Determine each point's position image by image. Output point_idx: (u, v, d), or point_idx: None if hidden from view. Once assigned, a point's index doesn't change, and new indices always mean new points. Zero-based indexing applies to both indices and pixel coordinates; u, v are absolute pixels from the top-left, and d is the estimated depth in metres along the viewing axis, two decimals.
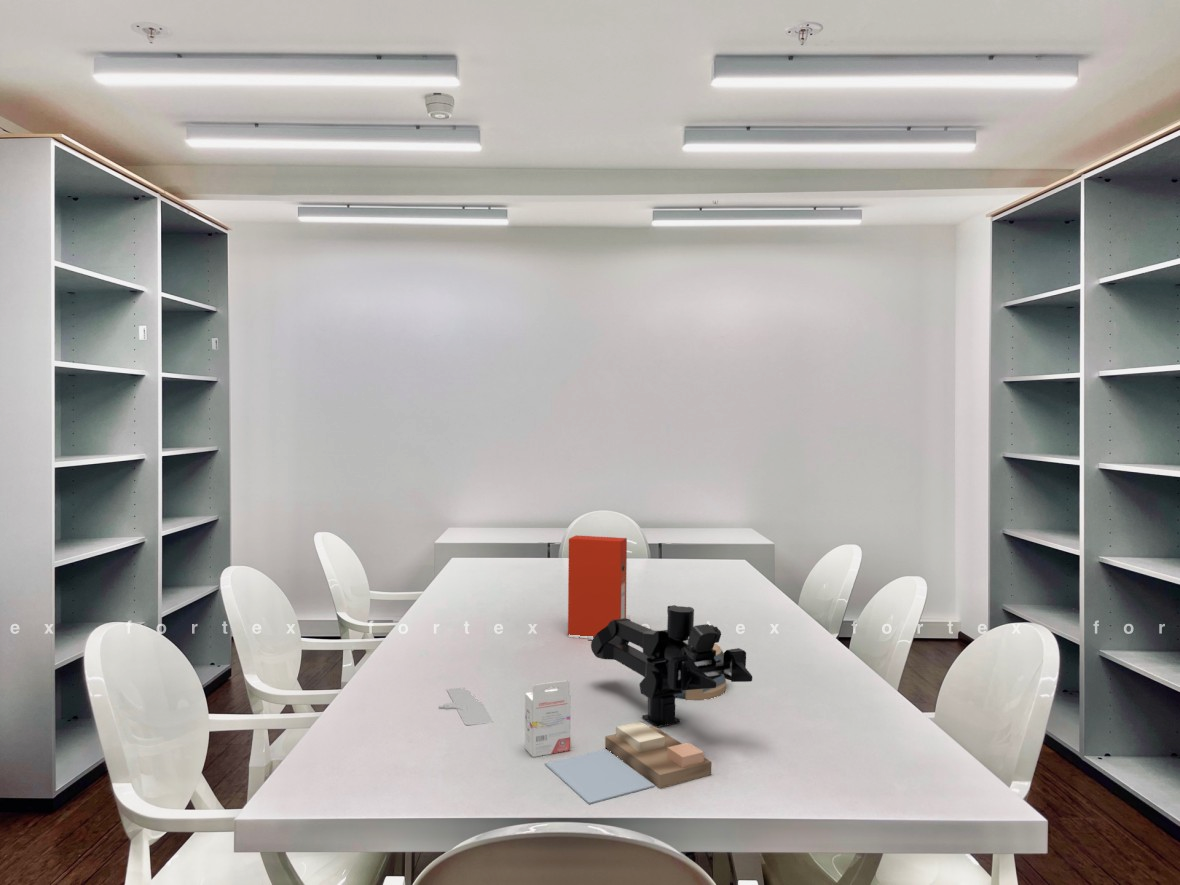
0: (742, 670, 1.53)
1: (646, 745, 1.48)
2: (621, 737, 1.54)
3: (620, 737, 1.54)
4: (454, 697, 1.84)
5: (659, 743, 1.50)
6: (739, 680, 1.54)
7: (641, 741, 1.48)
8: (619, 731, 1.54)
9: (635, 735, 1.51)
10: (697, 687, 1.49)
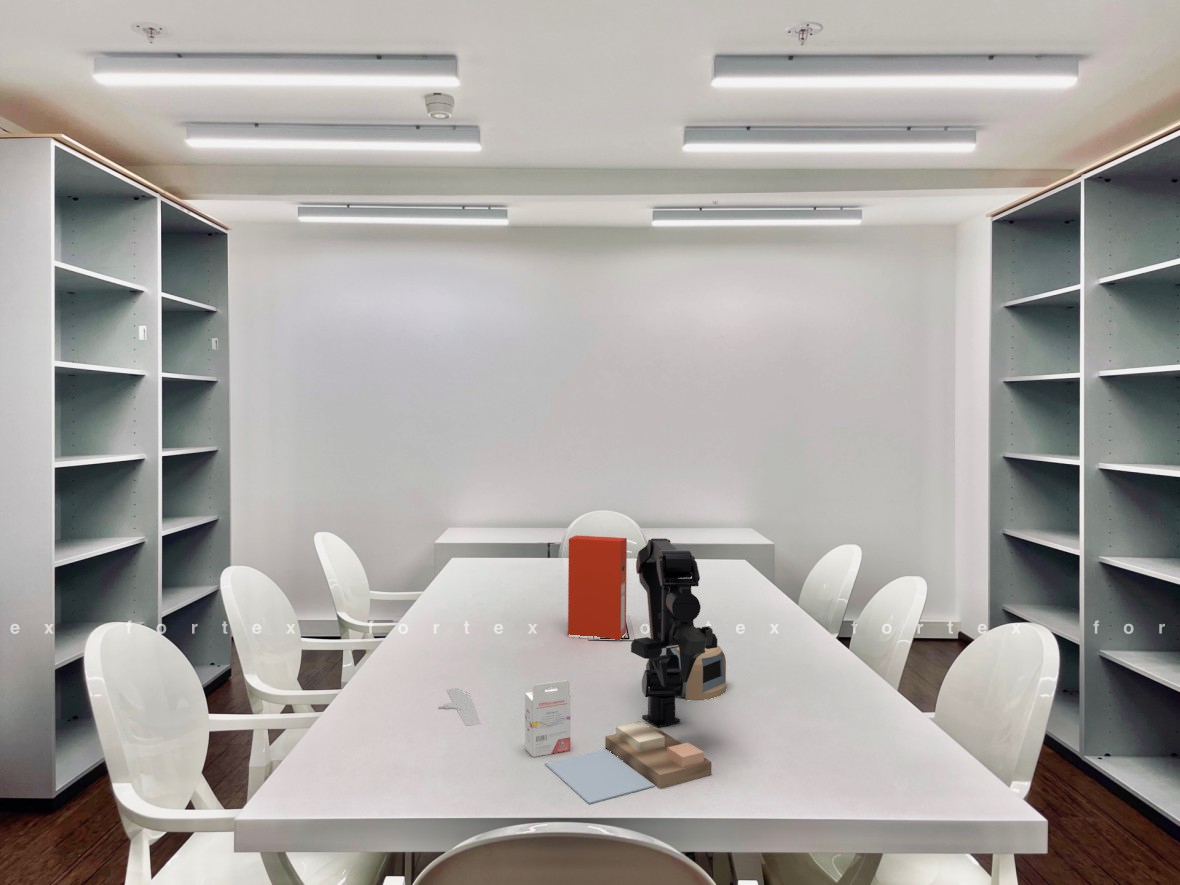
0: (687, 668, 1.58)
1: (646, 745, 1.48)
2: (621, 737, 1.54)
3: (620, 737, 1.54)
4: (454, 697, 1.84)
5: (659, 743, 1.50)
6: (680, 662, 1.60)
7: (641, 741, 1.48)
8: (619, 731, 1.54)
9: (635, 735, 1.51)
10: (654, 666, 1.56)
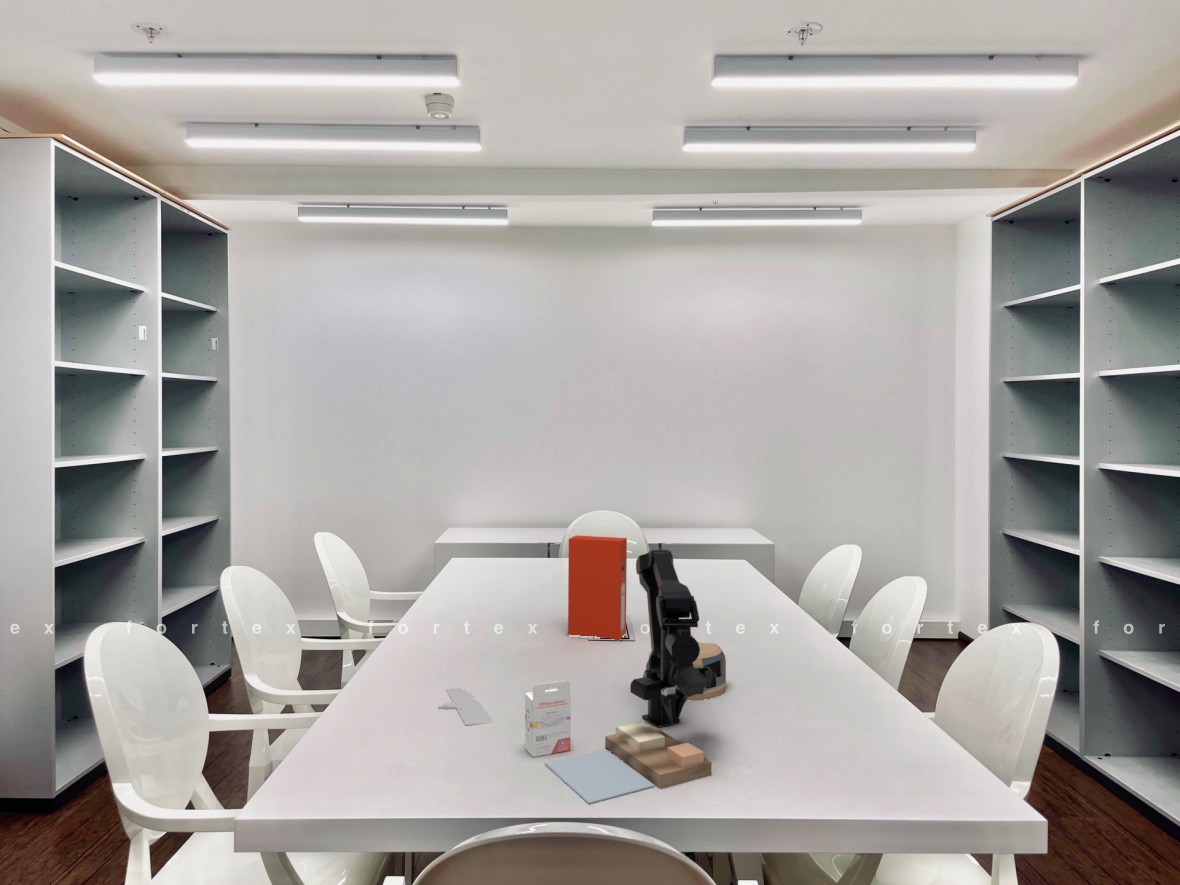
0: (676, 710, 1.57)
1: (646, 745, 1.48)
2: (621, 737, 1.54)
3: (620, 737, 1.54)
4: (453, 697, 1.84)
5: (659, 743, 1.50)
6: None
7: (641, 741, 1.48)
8: (619, 731, 1.54)
9: (635, 735, 1.51)
10: (663, 703, 1.58)
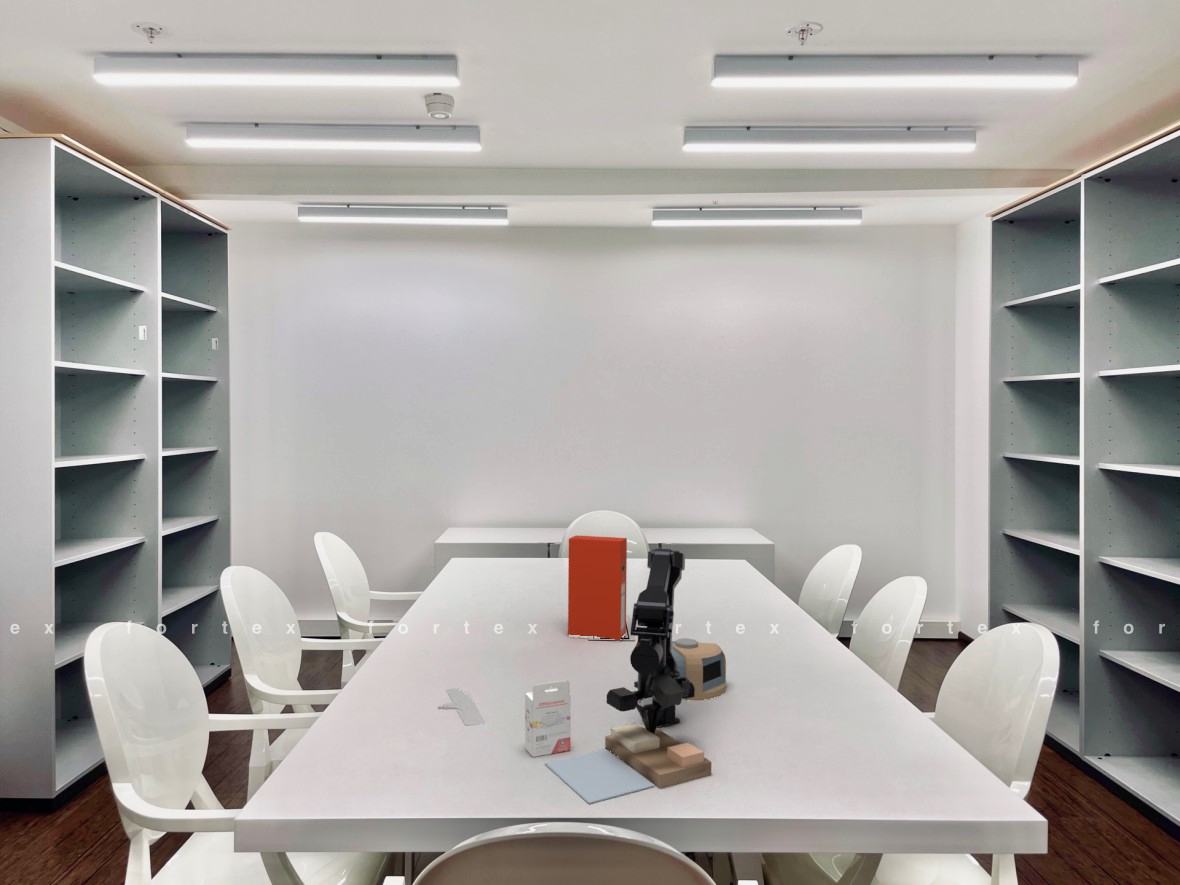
0: (653, 721, 1.54)
1: (640, 747, 1.48)
2: (616, 738, 1.53)
3: (615, 738, 1.53)
4: (453, 697, 1.84)
5: (654, 744, 1.49)
6: None
7: (636, 742, 1.48)
8: (614, 732, 1.54)
9: (630, 736, 1.50)
10: (640, 714, 1.55)
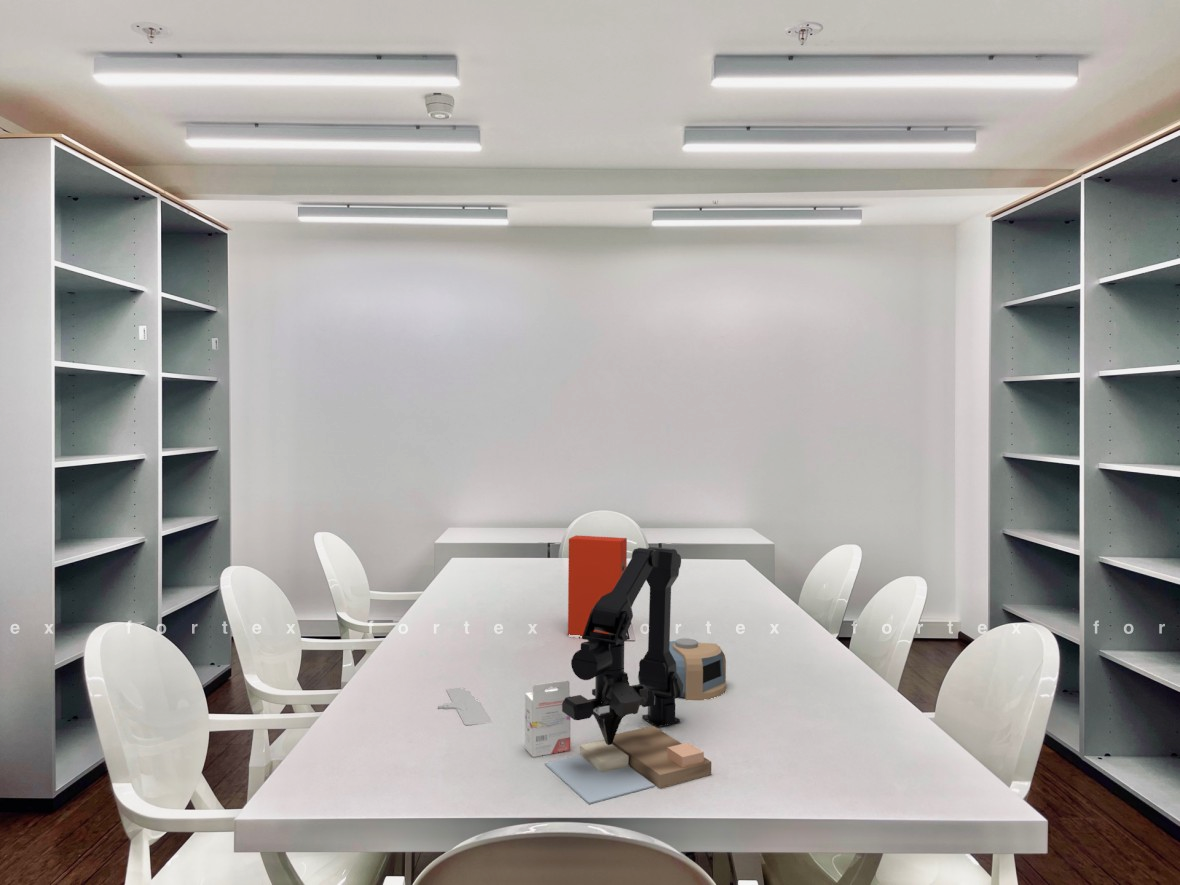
0: (611, 729, 1.49)
1: (608, 765, 1.44)
2: (584, 756, 1.50)
3: (583, 756, 1.50)
4: (453, 697, 1.84)
5: (623, 762, 1.46)
6: None
7: (604, 760, 1.44)
8: (583, 749, 1.50)
9: (598, 754, 1.47)
10: (598, 723, 1.50)
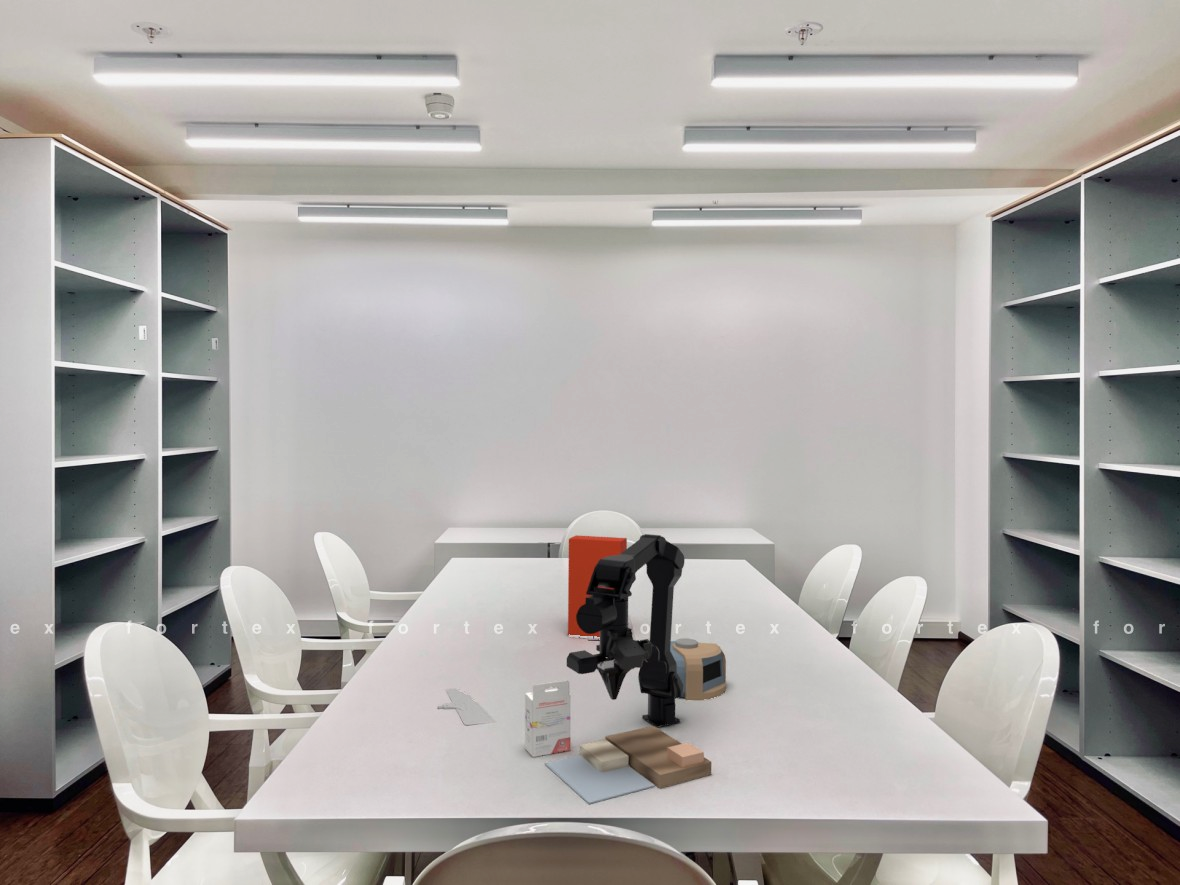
0: (616, 684, 1.49)
1: (608, 765, 1.44)
2: (584, 756, 1.50)
3: (583, 756, 1.50)
4: (453, 697, 1.84)
5: (623, 762, 1.46)
6: None
7: (604, 760, 1.44)
8: (583, 749, 1.50)
9: (598, 754, 1.47)
10: (602, 678, 1.50)
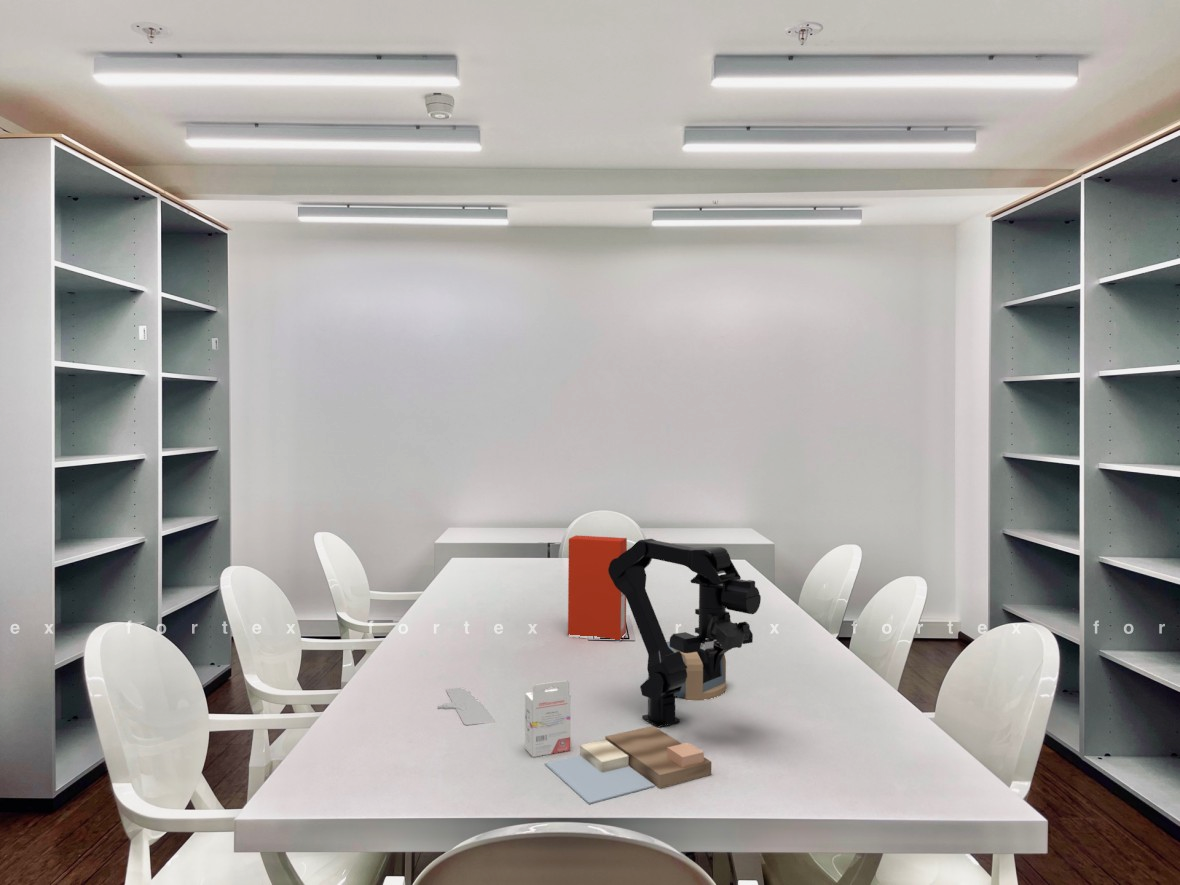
0: (714, 664, 1.61)
1: (608, 765, 1.44)
2: (584, 756, 1.50)
3: (583, 756, 1.50)
4: (453, 697, 1.84)
5: (623, 762, 1.46)
6: None
7: (604, 760, 1.44)
8: (583, 749, 1.50)
9: (598, 754, 1.47)
10: (701, 658, 1.62)
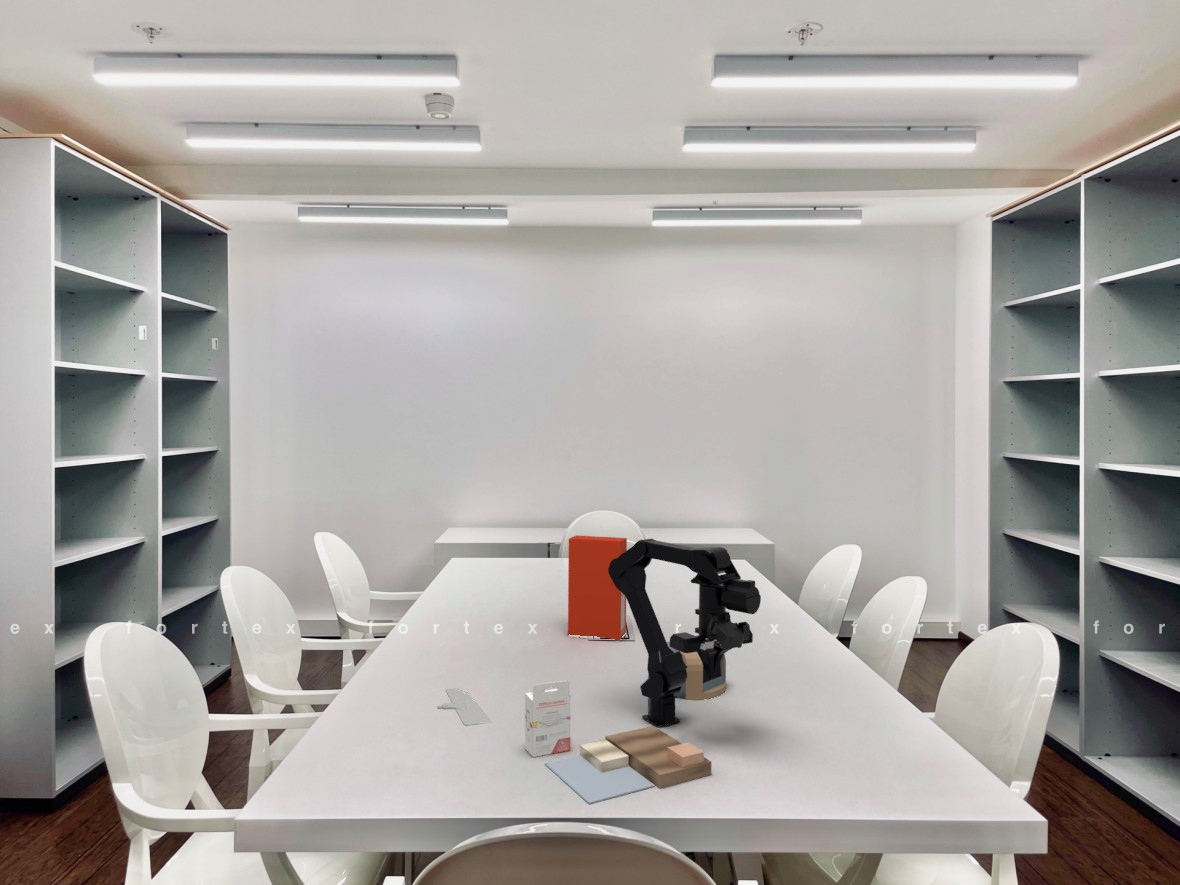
0: (714, 664, 1.61)
1: (608, 765, 1.44)
2: (584, 756, 1.50)
3: (583, 756, 1.50)
4: (453, 697, 1.84)
5: (623, 762, 1.46)
6: None
7: (604, 760, 1.44)
8: (583, 749, 1.50)
9: (598, 754, 1.47)
10: (701, 658, 1.62)
